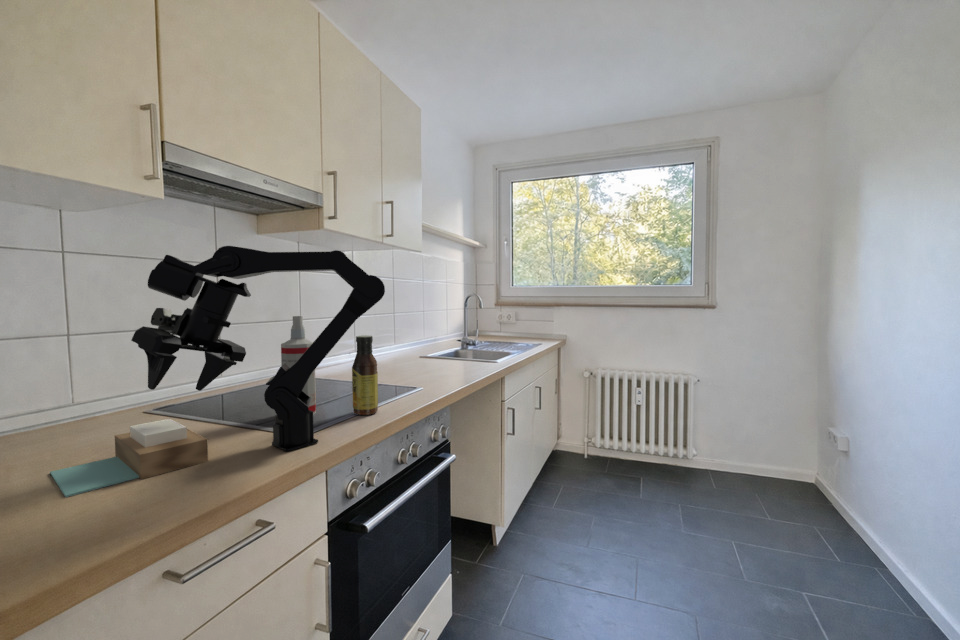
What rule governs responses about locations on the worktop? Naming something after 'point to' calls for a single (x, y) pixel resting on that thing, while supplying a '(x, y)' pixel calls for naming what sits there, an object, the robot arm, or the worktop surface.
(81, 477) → the mat
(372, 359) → the sauce bottle
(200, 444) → the brown box
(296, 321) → the spray bottle
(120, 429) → the worktop surface
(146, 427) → the white block
